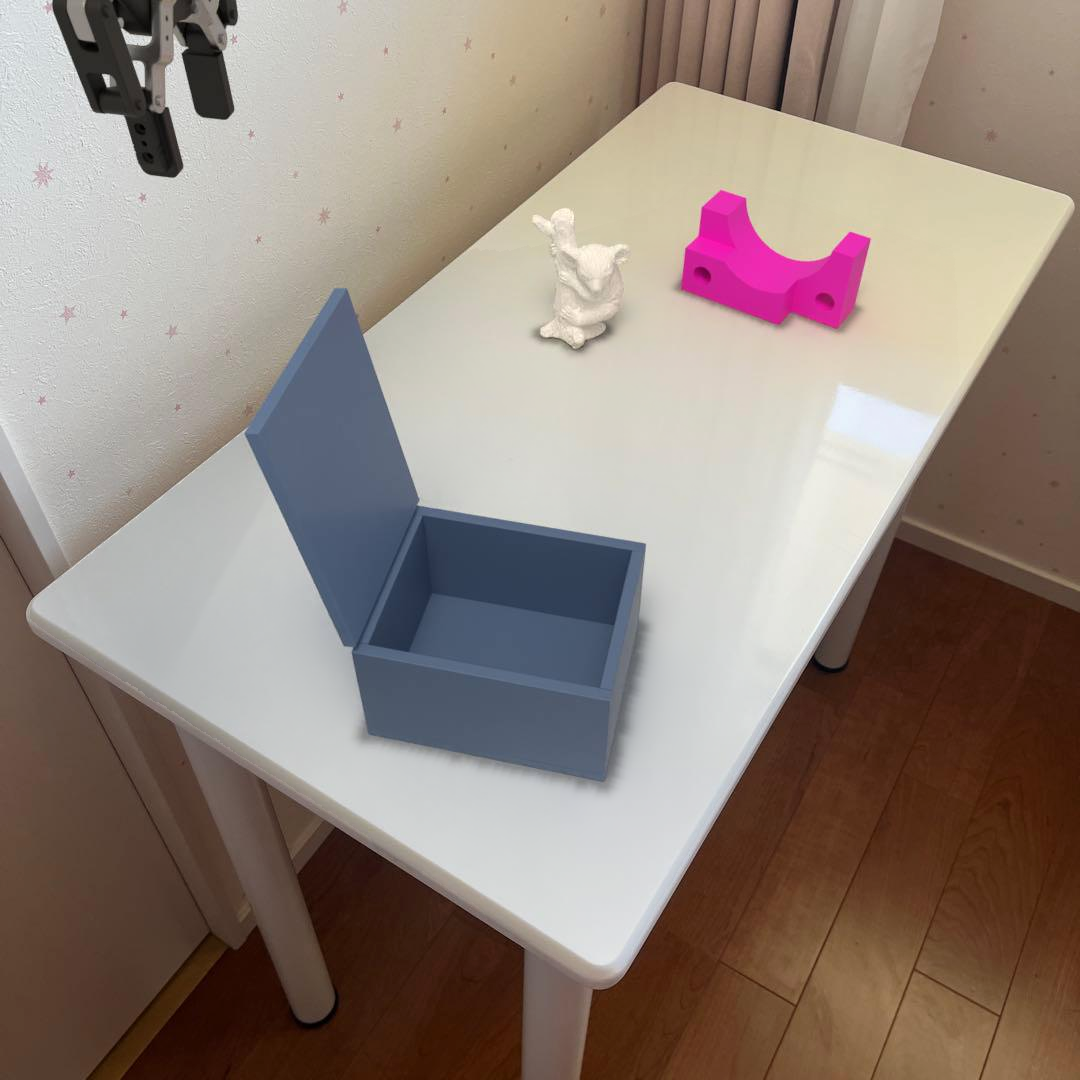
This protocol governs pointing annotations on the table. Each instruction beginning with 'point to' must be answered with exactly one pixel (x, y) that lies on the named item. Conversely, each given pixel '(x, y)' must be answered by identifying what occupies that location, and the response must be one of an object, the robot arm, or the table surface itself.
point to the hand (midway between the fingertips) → (190, 142)
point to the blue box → (502, 641)
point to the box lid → (336, 465)
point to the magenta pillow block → (768, 269)
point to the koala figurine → (581, 281)
